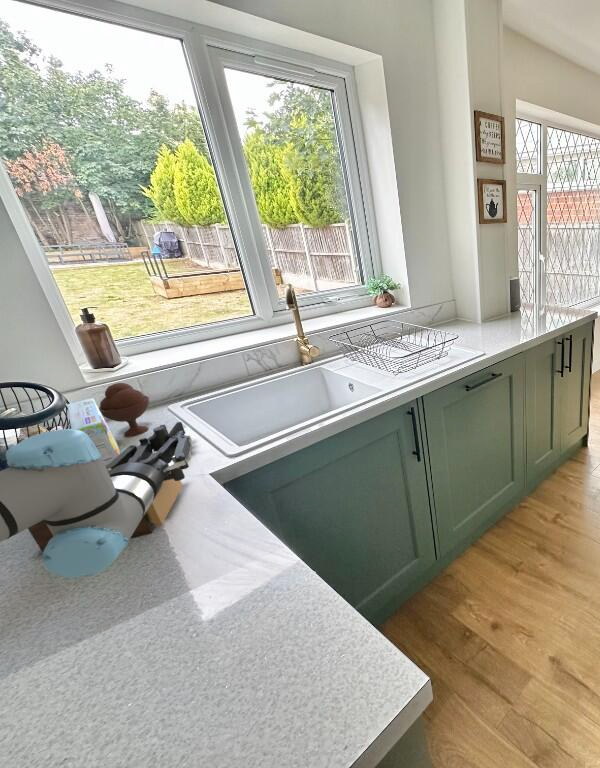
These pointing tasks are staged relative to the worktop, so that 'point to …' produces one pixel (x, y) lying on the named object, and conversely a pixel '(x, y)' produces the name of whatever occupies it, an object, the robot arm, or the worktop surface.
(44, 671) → the worktop surface
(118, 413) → the ice cream bowl
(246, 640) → the worktop surface
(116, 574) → the worktop surface
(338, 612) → the worktop surface
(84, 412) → the snack box
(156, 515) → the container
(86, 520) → the robot arm
